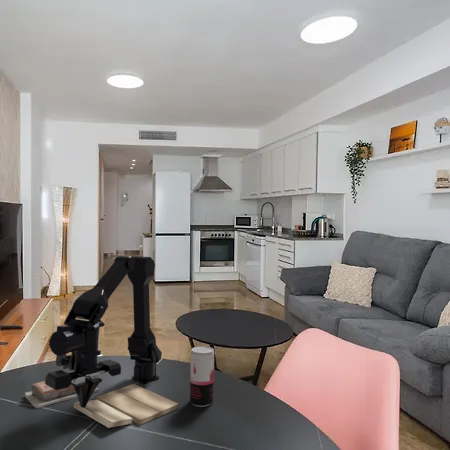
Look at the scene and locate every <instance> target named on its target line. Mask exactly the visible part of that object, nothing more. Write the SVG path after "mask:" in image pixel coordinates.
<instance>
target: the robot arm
mask: <svg viewBox="0 0 450 450" xmlns="http://www.w3.org/2000/svg"><path fill="white" fill-rule="evenodd" d="M155 268H156V264H155V260H154V259H153V258H152V256H151V257H150V256H141V255H132V256H130V255H129V256H127V255H118V256H116V257H115V258H114V262H113V263H112V265H111V266H109V268H108V270H107V271H106V272H105V273H104V274H103V275H102V277H101V278H100V279H99V280H98V282H97V283H96V284H95V285H94V286H93V287H92V288H91V289H89V290H86V291H84V292H82V294H80V295H79V296H78V297H77V298H76V299H75V300H74V302H73V304H72V306H71V309H70V310H69V312H68V314H67V316H66V318H65V319H64V321H63V325H57V326H56V331H54V332H53V333H52V335H51V336H50V338H49V339H48V341H49V343H48V345H49V349H50V351H51V352H52V354H54V355H55V356H56V357H55V365H56V367H62V369H61V370H60V369H59V370H53V371H50V372H48V373H47V374H46V376H45V378H44V381H45V384H46V385H47V386H49V387H51V388H53V389H55V390H60V389H64V388H68V387H69V386H70V385H73V387H74V388H75V391H76V393H77V396H78V398H77V399H78V402H79V403H80V406H81V407H82V408H84V407H86V405H87V403H88V401H90V400H91V397H92V395H93V394H94V393H93V392H94V390H95V389H96V387H97V388H98V387H99V384H100V383H103V378H100V374H105V373H108V375H110V376H111V377H115V376H118V375H119V376H120V375H121V374H122V366H121V364H120V362H116V361H114V360H112V359H105V360H101V361H99V362H98V358H99V357H98V356H101V352H102V351H101V350H100V349H99V339H100V338H99V337H100V328H103V327H105V326H106V324H105V322H104V321H102V320H101V319H102V318H103V317H104V315H105V313H106V311H107V309H108V307H109V299H110V297H111V295H113V293H114V292H115V290H116V289H117V288H118V286H119V285H120V284H121V283H122V281H123V280H124V279H125V277H126V276H127V278H128V280H129V281H130V283H131V285H132V298H133V299H132V300H133V301H132V303H133V332H132V334H131V335H130V336H128V337H127V343H128V344H127V350H128V353H129V357H130V360H132V361H134V367H133V376H131V379H132V380H134V381H137V382H139V383H141V384H147V383H150V382H153V381H155V380H156V381H157V380H158V379H160V376H158V375H157V363H160V361H161V359H162V354H163V353H162V351H161V349H160V348H159V347H158V346H157V341H156V336H155V334H154V332H153V331H152V329H151V320H150V319H151V313H150V312H151V311H150V305H151V304H150V283H151V281H152V279H154V278H153V277H155ZM67 354H68V355H67ZM69 354H70V355H69ZM66 369H68V370H69V371H70V372H66V371H64V370H66ZM71 371H72V372H71Z"/></svg>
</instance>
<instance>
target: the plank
mask: <svg viewBox="0 0 450 450" xmlns="http://www.w3.org/2000/svg"><path fill="white" fill-rule="evenodd" d="M73 408H74V409H76V410H78V411H79V412H81V413H82V414H84V415H86V416H87V417H89V418H91V419H93V420H95V422H98V423H99V424H100V425H101V424H102V425H103V426H105V427H106V428H108V429H109V428H115V427H120V426H126V425H132V424H133V421H132V420H133V418H131V417H129V416H127V415H125V414H123V413H122V412H120V411H118V410H116V409H114V408H112V407H110V406H108V405H106V404H105V403H103V402H101V401H99V400H96V399H93V400H92V399H89V401H88V403H87V405H86V407H84V408H82V407H81V406H80V403H79V401H75V402H73Z"/></svg>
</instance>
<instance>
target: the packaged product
mask: <svg viewBox="0 0 450 450" xmlns="http://www.w3.org/2000/svg"><path fill="white" fill-rule="evenodd" d="M98 392H100V388H98V386H97V387H96V389H95V390H94V392H93V394H94V393H95V394H96V393H98ZM24 397H25V399H26V400H27V401H28V402H29V403H30V404H31V405H32V406H33V408H35V409H40V408H44V407H47V406H50V405H54V404H59V403H63V402H66V401H70V400H75V399H78V396H77V393H76V391H75V388H74V387H73V385H70V386H69V387H68V388H64V389H60V390H55V389H53V388H51V387H49V386H47V385H46V384H45V380H42V381H39V382H35V383H33V384H32V385H31V391H27V392H26V391H25V392H24Z"/></svg>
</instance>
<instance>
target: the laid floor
mask: <svg viewBox="0 0 450 450" xmlns="http://www.w3.org/2000/svg"><path fill="white" fill-rule="evenodd" d="M95 400H99V401H101V402H103V403H105V404H106V405H108V406H110V407H112V408H114V409H116V410H118V411H120V412H122V413H123V414H125V415H127V416H129V417H131V418H133V420H132V423H135V424H137V425H139V426H141V425H144V424H146V423H149V422H151V421H153V420H155V419H157V418H159V417H162V416H164V415H166V414H168V413H171V412H173V411H175V410H178V409H179V406H180V405H179V403H178V402H175V401H173V400H171V399H168V398H166V397H164V396H162V395H160V394H158V393H155V392H153V391H151V390H148V389H146V388H143V387H141V386H139V385H137V384H135V383H132V384H129V385H126V386H123V387H120V388H118V389H115V390H112V391H109V392H107V393H103V394H100V395H97V396H95Z"/></svg>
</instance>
